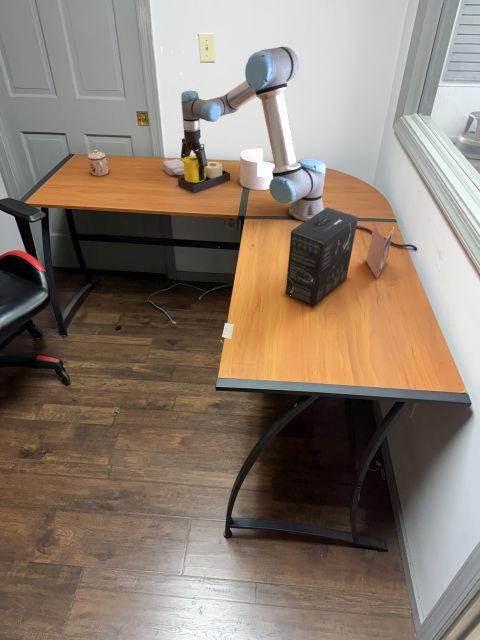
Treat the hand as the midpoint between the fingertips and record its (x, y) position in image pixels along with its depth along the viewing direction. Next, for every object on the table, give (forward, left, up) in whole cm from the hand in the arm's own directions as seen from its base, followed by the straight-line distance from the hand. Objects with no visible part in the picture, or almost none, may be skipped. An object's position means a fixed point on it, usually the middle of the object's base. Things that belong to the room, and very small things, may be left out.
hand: (195, 176), depth 212 cm
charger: (+19, -3, -5) cm, 20 cm away
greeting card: (-102, -1, -5) cm, 102 cm away
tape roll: (0, 0, -1) cm, 1 cm away
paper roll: (0, -12, -5) cm, 12 cm away
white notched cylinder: (-18, -27, -5) cm, 33 cm away
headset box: (-95, +23, -5) cm, 98 cm away
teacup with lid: (+46, +26, -5) cm, 53 cm away
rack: (0, -6, -5) cm, 7 cm away
